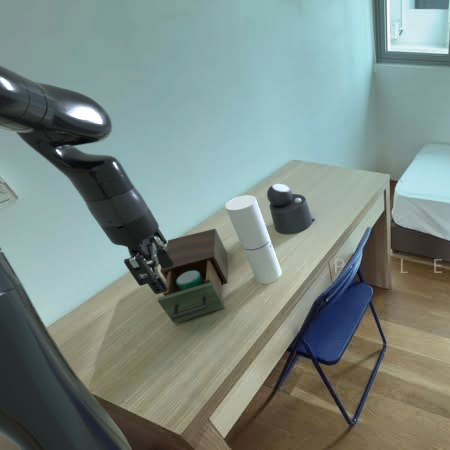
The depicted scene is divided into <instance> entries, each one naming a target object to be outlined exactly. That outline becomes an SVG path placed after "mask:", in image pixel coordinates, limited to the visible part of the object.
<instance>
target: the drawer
mask: <svg viewBox="0 0 450 450" xmlns="http://www.w3.org/2000/svg"><path fill="white" fill-rule="evenodd" d="M193 270H195V271H198V272H199V273H200V275H201V277H202V279H203V280H204V282H205V284H203V285H199V286H196V287H193V288H189V289H186V290H183V291H181V289H180V288H179V286H178V285H177V283H176V280H177V278H178V277H179V276H180V275H182V274H183V273H185V272H188V271H193ZM165 284H166V285H167V287H168V289H167V291H166V292H163V293H162V294H163V296H159V297H158V298H157V302H158V304H159V305H160V306H161V308H162V310H163V311H164V312H165V313H166V315H167V316H168V318H169V319H170V321H171V323H173V324H177V323H180V322H184V321H186V320H189V319H193V318H195V317H199V316H201V315H205V314H207V313H211V312H214V311H217V310H220V309H222V308H225V303H224V302H223V300H222V297H221V296H222V295H221V294H222V284H221V276H220V274H219V272H218V270H217V268H216V266H215V264H214V262H213V260H212V259H210V260H207V261H203V262H199V263H196V264H192V265H189V266H185V267H182V268H178V269H174V270H171V271H168V274H167V279H165Z"/></svg>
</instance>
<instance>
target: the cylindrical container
mask: <svg viewBox="0 0 450 450" xmlns="http://www.w3.org/2000/svg"><path fill="white" fill-rule="evenodd" d="M224 208H225V209H226V212H227V215H228V216H229V220H230V222H231V224H232V227H233V229H234V231H235V234H236V235H237V238H238V240H239V243H240V246H241V247H242V250H243V252H244V254H245V257H246V259H247V261H248V264H249V266H250V269H251V270H252V272H253V275H254V278H255V280H256V282H257V283H258V284H261V285H268V284H272V283H274V282H276V281H277V280H278V279H280V278H281V276H282V273H283V272H282V268H281V265H280V263H279V260H278V257H277V254H276V252H275V249H274V246H273V243H272V240H271V237H270V235H269V231H268V228H267V226H266V223H265V220H264V217H263V214H262V212H261V209H260V206H259V204H258V200H257V198H256V196H254V195H251V194H250V195H249V194H246V195H245V194H244V195H238V196H236V197H233V198H231V199H230V200H228V201H227V202H225V204H224Z"/></svg>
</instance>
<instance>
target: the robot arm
mask: <svg viewBox="0 0 450 450" xmlns="http://www.w3.org/2000/svg"><path fill="white" fill-rule="evenodd" d="M0 129H2V130H6V131H10V132H15V133H16V134H17V136H18V137H19V138H20V139H21V140H22V141H23V142H24V143H26V144H27V145H28V146H29V147H30V148H31V149H33V150H34V151H35V152H36V153H38V154H39V155H40V156H41V157H43V158H44V159H45V160H46V161H47V162H49V163H50V164H51V165H52V166H53V167H54V168H55V169H57V170H58V171H59V172H60V173H62V175H64V176H65V177H66V178H67V179H68V180H69V181H70V183H71V184H72V186H73V187H74V189H75V190H76V191H77V193H78V195H80V197H81V198H82V200H83V201H84V203H85V204H86V207H87V209H88V211H89V212H90V215H91V216H92V217H93V218H94V220H95V221H96V223H97V224H98V225H99V226H100V228H101V230H102V231H103V232H104V234H105V235H106V237H107V238H108V239H109V241H110V243H111V244H113V245H116V246H122V247H126V248H127V250H128V254H129V257H128V258H125V259H123V263H124V265H125V266H126V268H127V270H128V271H129V272H130V274H131V276H132V277H133V278H134V280H135V282H136V283H137V285H138V286H140V287H142V286H145V285H148V286H149V288H150V289H151V290H152V292H153V293H154V294H155V295H160V294H163V292H166V291H167V289H168V287H167V285H166V284H165V283H166V281H164V279H163V277H161V275H160V273H159V270H158V267H159V266H160V268H161V267H162V268H168V267H172V266H173V261H172V259H171V258H170V256H169V254H168V253H167V247H166V246H167V243H168V240H167V239H166V237H165V236H164V235H163V233H162V231H161V230H160V225H159V223H158V221H157V219H156V217H155V215H154V214H153V212H152V211H151V209H150V208H149V205H148V204H147V202H146V201H145V199H144V197H143V196H142V194H141V193H140V191H139V190H138V189H137V188H136V186H135V185H134V184H133V181H132V180H131V178H130V176H129V175H128V173H127V172H126V169H125V168H124V166H123V165H122V163H121V162H120V160H118V159H117V158H116V157H115V156H112V155H109V154H91V153H87V152H84V151H82V150H81V149H79V148H77V147H76V146H84V145H91V144H97V143H100V142H103V141H105V140H106V139H108V138H109V137H110V136H111V134H112V132H113V122H112V119H111V116H110V114H109V113H108V111H107V110H106V109H105V108H104V106H102V105H101V104H100V103H99V102H97V101H96V100H94V99H93V98H91V97H90V96H88V95H85V94H83V93H81V92H78V91H76V90H72V89H68V88H64V87H59V86H57V85H52V84H47V83H42V82H38V81H34V80H31V79H30V78H27V77H25V76H23V75H22V74H19V73H17V72H16V71H13V70H11V69H9V68H7V67H5V66H3V65H0ZM148 262H149V263H148ZM21 280H22V279H20V276H19V275H18V273H17V272H16V270H15V268H14V267H13V266H12V264H11V262H10V260H9V258H8V256H7V255H6V254H5V252H4V251H3V248H2V246H0V435H2V436H3V437H4V438H6V439H7V440H9V442H11V443H12V444H14V445H15V446H16V447H17V448H18V449H19V450H133V449H132V447H131V445H130V443H129V441H128V439H127V438H126V436H125V435H124V433H123V432H122V431H121V429H120V428H119V426H118V425H117V423H116V422H115V421H114V420H113V419H112V417H111V416H110V415H109V413H108V412H107V411H106V410H105V408H104V407H103V406H102V404H101V403H100V401H98V399H97V398H96V397H95V395H93V393H92V392H91V391H90V389H89V388H88V387H87V386H86V384H85V383H84V382H83V380H82V379H81V378H80V377H79V375H78V374H77V373H76V372H75V370H74V369H73V368H72V366H71V365H70V363H69V362H68V360H67V358H66V356H65V355H64V354H63V352H62V351H61V349H60V347H59V346H58V344H57V343H56V341H55V339H54V338H53V336H52V334H51V332H50V331H49V329H48V328H47V325H46V324H45V323H44V321H43V318H41V315H40V314H39V312H38V310H37V308H36V306H35V304H34V303H33V301H32V299H31V298H30V295H29V293H28V292H27V289H26V288H25V287H26V286H25V285H24V284H23V282H22V281H21Z"/></svg>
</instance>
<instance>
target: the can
mask: <svg viewBox="0 0 450 450" xmlns="http://www.w3.org/2000/svg"><path fill="white" fill-rule="evenodd" d="M176 283H177V285H178V286H179V288H180V289H181V291H183V290H186V289H189V288H193V287H196V286H199V285H203V284H205V282H204V280H203V279H202V277H201V275H200V273H199V272H198V271H195V270H193V271H188V272H185V273H183V274H182V275H180V276H179V277H178V278H177V280H176Z"/></svg>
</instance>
